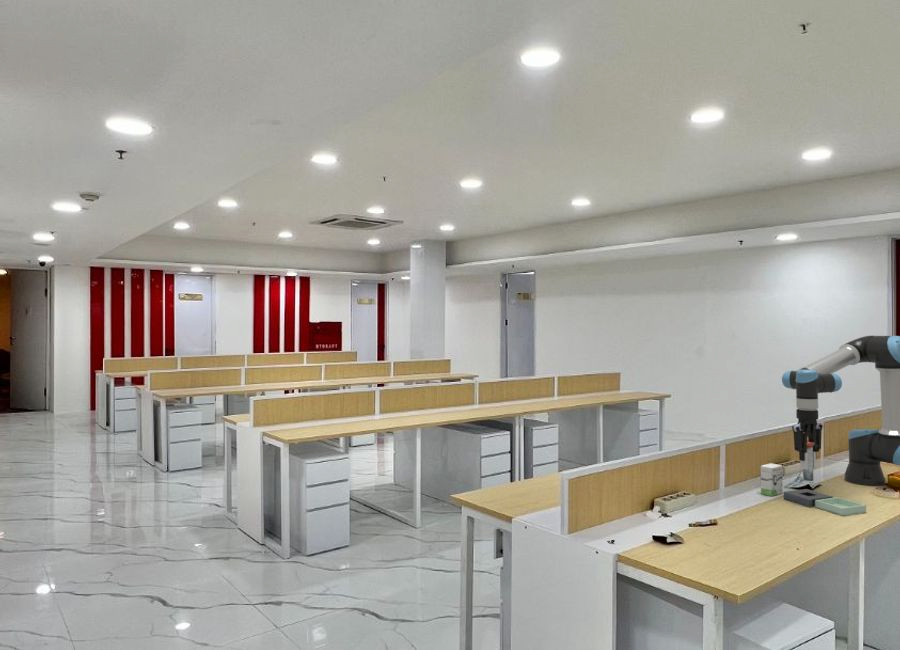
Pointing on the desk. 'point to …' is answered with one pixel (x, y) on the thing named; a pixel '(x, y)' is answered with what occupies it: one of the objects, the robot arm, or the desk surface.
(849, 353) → the robot arm
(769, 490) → the ink box
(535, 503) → the desk surface
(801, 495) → the block
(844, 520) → the desk surface
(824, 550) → the desk surface
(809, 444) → the red capped clear bottle
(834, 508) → the tray
